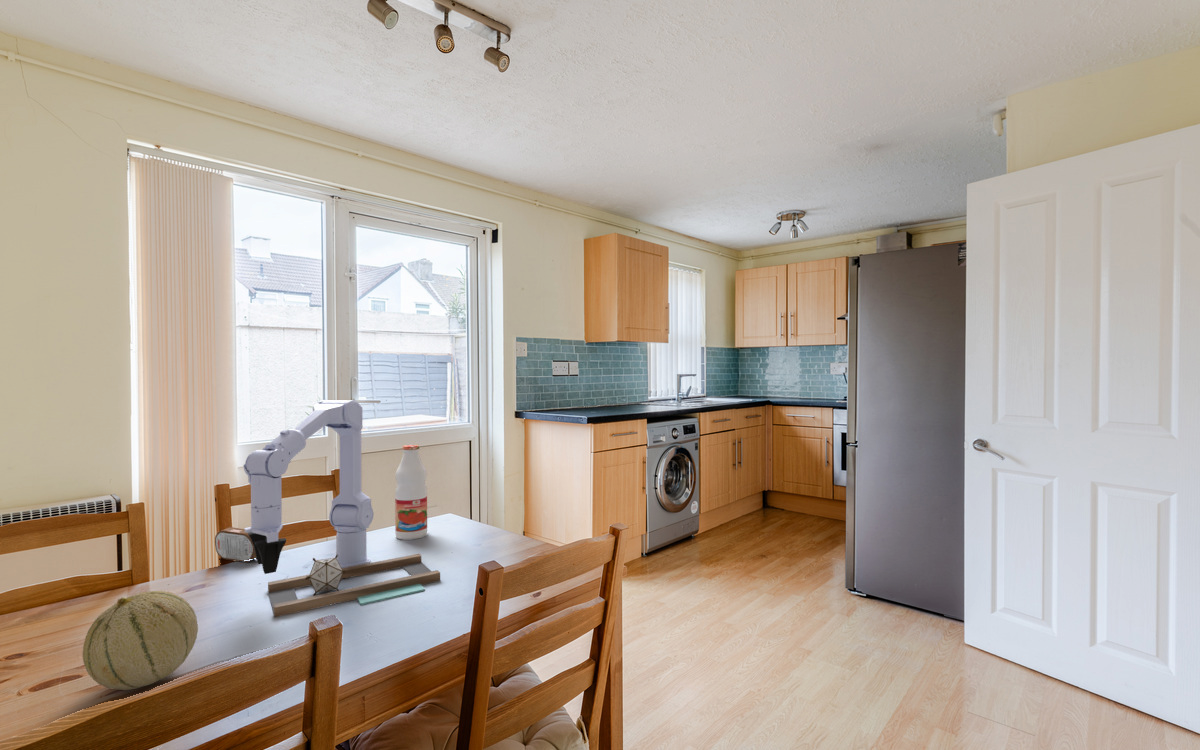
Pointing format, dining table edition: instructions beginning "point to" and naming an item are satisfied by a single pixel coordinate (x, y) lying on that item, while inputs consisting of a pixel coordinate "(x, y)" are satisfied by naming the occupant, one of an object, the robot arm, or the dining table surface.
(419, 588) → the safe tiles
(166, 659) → the cantaloupe
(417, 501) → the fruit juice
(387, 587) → the lane rails
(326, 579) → the game die
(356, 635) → the dining table surface
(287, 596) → the mats
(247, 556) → the tin
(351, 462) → the robot arm
